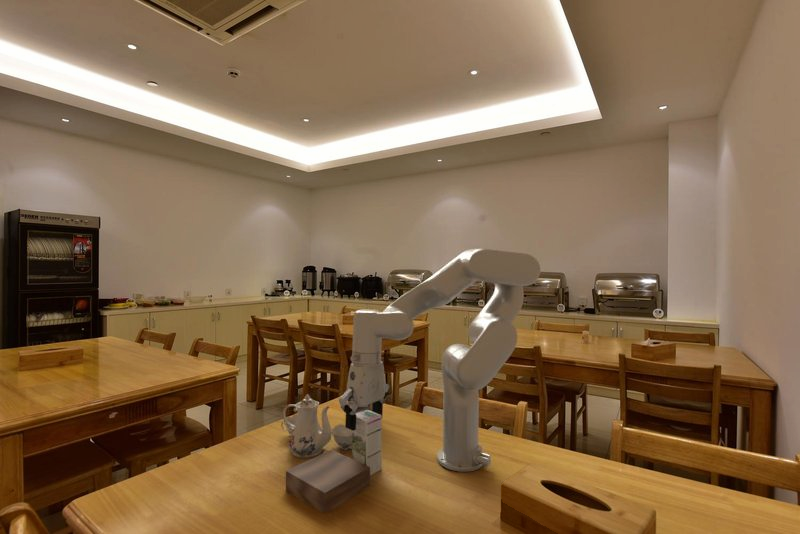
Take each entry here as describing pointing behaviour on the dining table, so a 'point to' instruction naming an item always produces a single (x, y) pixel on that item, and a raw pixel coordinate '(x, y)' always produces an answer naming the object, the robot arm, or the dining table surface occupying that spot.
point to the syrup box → (368, 440)
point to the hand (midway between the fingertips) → (364, 423)
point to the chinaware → (312, 430)
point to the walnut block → (327, 480)
